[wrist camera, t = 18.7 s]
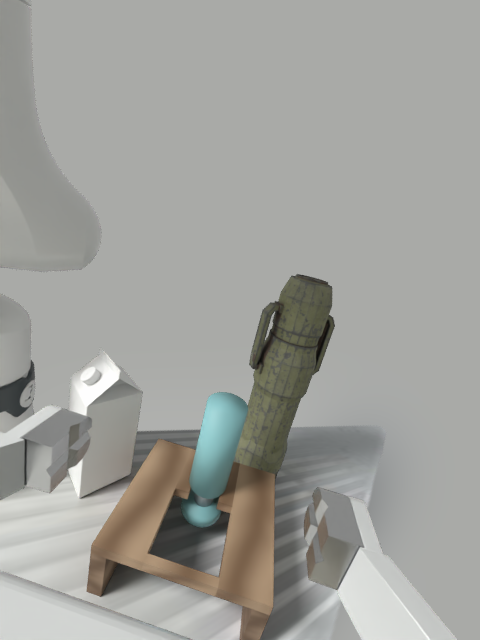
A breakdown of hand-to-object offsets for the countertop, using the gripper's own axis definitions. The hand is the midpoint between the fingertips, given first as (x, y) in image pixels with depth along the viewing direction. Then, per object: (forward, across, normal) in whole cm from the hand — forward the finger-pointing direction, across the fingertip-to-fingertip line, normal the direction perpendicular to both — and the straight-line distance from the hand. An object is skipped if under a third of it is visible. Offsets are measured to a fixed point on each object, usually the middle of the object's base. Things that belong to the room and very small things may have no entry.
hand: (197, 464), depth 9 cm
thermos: (+32, -7, +30) cm, 45 cm away
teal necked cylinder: (+20, 0, +27) cm, 34 cm away
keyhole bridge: (+17, 0, +30) cm, 34 cm away
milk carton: (+23, +17, +30) cm, 41 cm away
